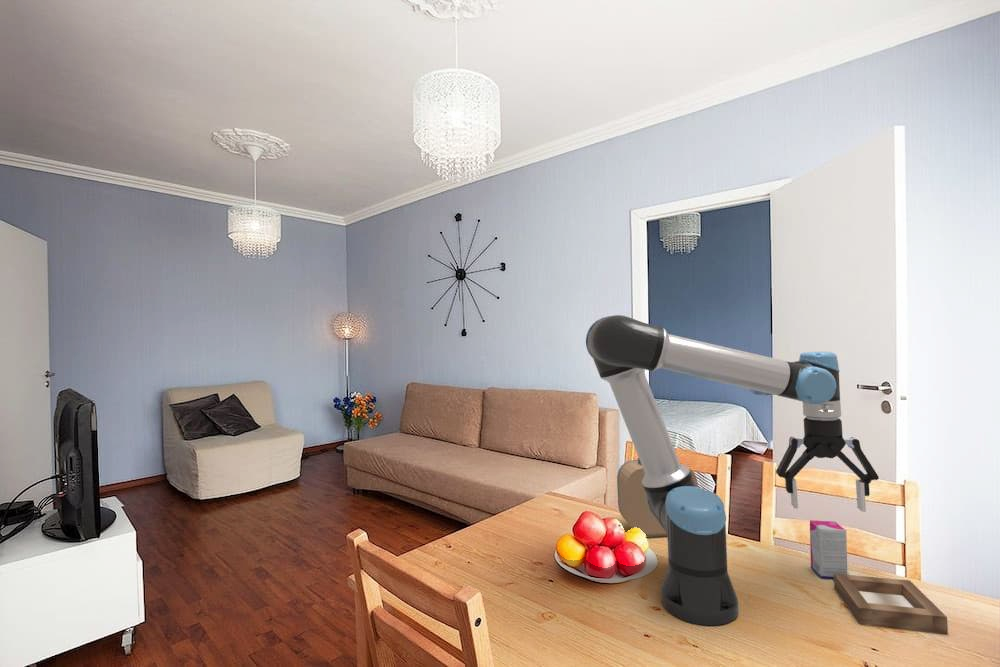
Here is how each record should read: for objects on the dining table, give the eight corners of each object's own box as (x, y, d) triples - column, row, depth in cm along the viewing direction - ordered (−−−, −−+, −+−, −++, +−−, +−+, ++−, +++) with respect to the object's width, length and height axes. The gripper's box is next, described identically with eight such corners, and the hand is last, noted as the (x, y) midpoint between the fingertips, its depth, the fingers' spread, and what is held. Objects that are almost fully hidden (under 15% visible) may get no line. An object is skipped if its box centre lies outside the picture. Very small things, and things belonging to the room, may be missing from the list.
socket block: (859, 624, 95) (858, 607, 95) (834, 587, 109) (833, 573, 109) (947, 634, 91) (947, 617, 91) (910, 595, 104) (909, 580, 105)
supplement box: (849, 580, 112) (847, 530, 112) (820, 578, 113) (818, 529, 113) (837, 568, 117) (835, 520, 117) (809, 567, 119) (807, 519, 119)
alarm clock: (685, 522, 149) (682, 451, 149) (699, 535, 139) (696, 459, 140) (618, 527, 148) (615, 455, 148) (628, 540, 138) (625, 463, 138)
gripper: (766, 420, 116) (771, 510, 115) (892, 420, 108) (898, 516, 108) (759, 415, 123) (764, 500, 123) (878, 414, 115) (883, 505, 115)
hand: (827, 508), depth 115 cm, fingers open, 13 cm apart
